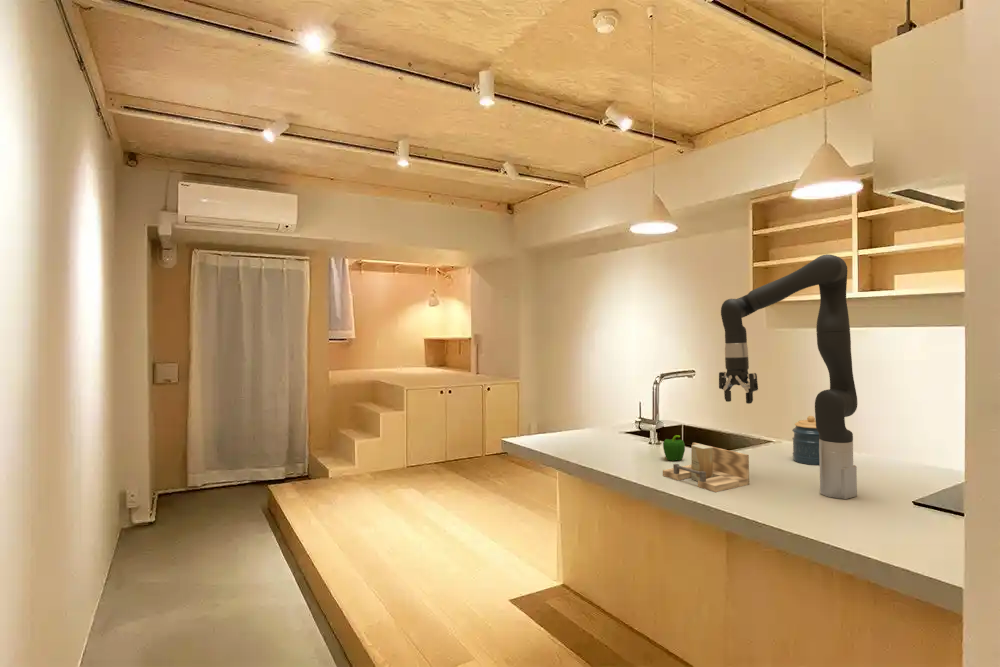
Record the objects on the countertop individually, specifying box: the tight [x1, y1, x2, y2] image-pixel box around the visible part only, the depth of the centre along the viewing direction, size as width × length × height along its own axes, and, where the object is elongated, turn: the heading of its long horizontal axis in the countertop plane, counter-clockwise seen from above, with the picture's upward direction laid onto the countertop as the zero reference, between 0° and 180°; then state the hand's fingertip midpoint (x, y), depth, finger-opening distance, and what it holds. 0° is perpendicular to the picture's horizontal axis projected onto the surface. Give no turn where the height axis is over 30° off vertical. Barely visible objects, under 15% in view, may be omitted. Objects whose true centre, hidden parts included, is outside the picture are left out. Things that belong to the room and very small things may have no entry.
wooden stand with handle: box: [662, 442, 750, 493], centre depth 203 cm, size 24×16×10 cm, turn 28°
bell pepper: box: [662, 434, 686, 462], centre depth 232 cm, size 8×8×10 cm
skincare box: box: [690, 443, 714, 482], centre depth 202 cm, size 6×4×12 cm
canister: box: [791, 415, 820, 466], centre depth 224 cm, size 13×13×18 cm
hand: (738, 402), depth 202 cm, fingers open, 8 cm apart
